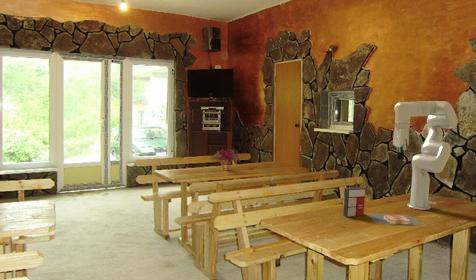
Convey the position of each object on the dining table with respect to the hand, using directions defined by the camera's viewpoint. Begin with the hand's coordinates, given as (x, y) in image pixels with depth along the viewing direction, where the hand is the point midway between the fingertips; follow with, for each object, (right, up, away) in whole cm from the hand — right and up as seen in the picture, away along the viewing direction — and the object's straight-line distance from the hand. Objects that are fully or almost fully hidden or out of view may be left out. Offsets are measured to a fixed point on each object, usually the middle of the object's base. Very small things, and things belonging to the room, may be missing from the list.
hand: (400, 159), depth 227 cm
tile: (-8, -30, -11) cm, 33 cm away
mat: (-8, -31, -12) cm, 34 cm away
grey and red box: (-27, -30, -6) cm, 41 cm away
